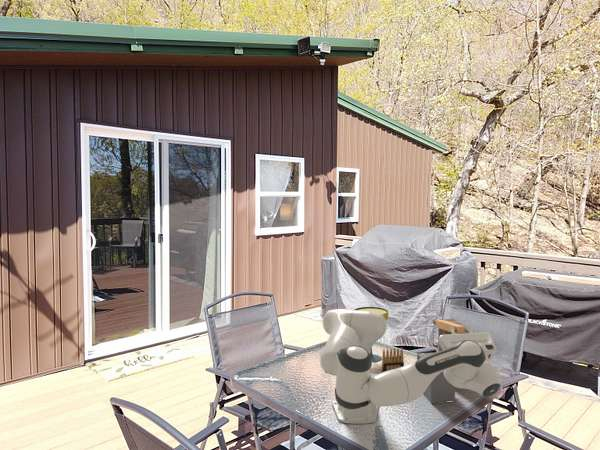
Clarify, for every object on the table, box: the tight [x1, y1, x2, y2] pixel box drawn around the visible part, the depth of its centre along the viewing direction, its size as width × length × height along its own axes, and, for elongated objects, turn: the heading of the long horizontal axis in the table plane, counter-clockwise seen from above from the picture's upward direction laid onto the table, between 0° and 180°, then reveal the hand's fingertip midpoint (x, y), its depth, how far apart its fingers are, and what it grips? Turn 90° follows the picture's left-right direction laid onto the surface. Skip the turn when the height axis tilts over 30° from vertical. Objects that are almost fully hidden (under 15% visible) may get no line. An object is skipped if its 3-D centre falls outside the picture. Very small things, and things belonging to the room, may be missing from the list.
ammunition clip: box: [381, 347, 405, 373], centre depth 217 cm, size 11×2×12 cm, turn 99°
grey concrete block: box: [416, 352, 456, 404], centre depth 193 cm, size 16×10×15 cm, turn 5°
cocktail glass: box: [354, 306, 389, 363], centre depth 237 cm, size 18×18×25 cm
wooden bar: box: [435, 319, 466, 334], centre depth 189 cm, size 24×3×3 cm, turn 3°
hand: (458, 327), depth 180 cm, fingers closed on wooden bar, 3 cm apart
